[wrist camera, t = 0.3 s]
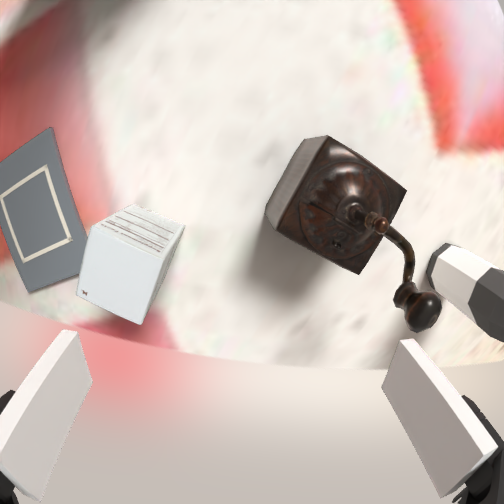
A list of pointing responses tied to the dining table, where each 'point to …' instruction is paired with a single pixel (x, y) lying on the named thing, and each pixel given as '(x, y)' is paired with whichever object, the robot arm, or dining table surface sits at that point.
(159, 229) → the supplement box
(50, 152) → the slate board
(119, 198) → the dining table surface
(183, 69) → the dining table surface
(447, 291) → the wine bottle
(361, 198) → the manual coffee grinder
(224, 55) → the dining table surface
